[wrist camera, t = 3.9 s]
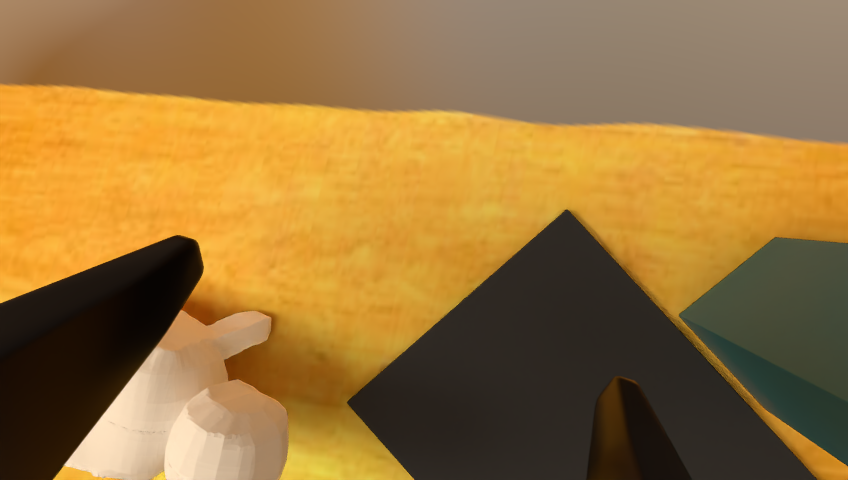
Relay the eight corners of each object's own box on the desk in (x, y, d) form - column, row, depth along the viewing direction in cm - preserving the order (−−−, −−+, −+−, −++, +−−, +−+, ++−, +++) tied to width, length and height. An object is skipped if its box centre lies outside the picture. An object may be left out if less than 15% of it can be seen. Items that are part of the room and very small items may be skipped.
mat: (614, 703, 25) (616, 709, 25) (348, 400, 26) (346, 402, 26) (865, 532, 23) (870, 536, 23) (566, 209, 24) (567, 209, 23)
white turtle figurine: (156, 394, 31) (323, 513, 24) (-9, 437, 23) (164, 630, 16) (181, 271, 30) (361, 357, 23) (18, 275, 22) (212, 405, 15)
